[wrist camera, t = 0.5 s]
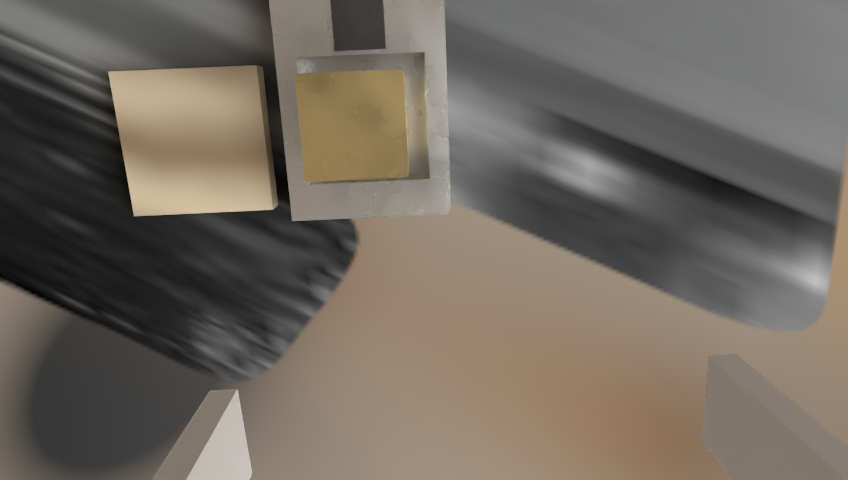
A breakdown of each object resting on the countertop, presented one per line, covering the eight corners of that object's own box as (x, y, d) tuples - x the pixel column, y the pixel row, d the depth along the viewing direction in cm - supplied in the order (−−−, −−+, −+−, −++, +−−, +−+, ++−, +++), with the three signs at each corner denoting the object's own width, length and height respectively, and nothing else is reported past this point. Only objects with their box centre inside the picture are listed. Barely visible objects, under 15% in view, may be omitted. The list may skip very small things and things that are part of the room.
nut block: (325, 79, 35) (294, 73, 25) (404, 76, 35) (403, 69, 25) (332, 158, 36) (305, 181, 27) (408, 155, 36) (408, 177, 27)
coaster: (120, 72, 35) (108, 71, 34) (262, 66, 35) (256, 65, 34) (144, 211, 37) (134, 216, 36) (278, 205, 37) (272, 209, 36)
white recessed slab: (271, -84, 33) (257, -102, 30) (438, -90, 33) (440, -108, 30) (301, 211, 38) (291, 221, 35) (447, 204, 38) (450, 213, 35)
